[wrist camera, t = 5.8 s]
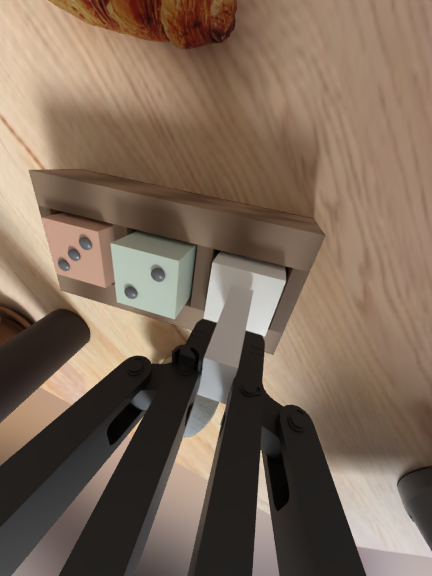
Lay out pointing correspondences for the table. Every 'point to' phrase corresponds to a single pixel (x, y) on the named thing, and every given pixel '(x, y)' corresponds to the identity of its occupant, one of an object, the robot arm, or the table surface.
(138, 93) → the table surface
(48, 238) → the three pip tile
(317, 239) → the wooden tile tray
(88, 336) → the bottle
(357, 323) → the table surface
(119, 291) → the two pip tile
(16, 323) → the cup and saucer
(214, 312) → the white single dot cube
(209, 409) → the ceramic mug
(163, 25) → the croissant
